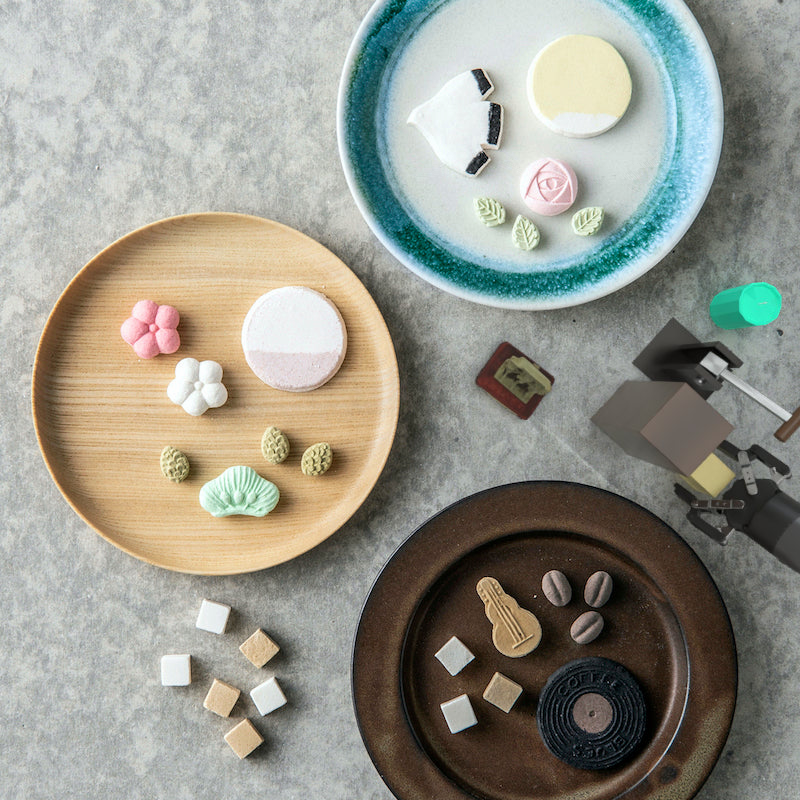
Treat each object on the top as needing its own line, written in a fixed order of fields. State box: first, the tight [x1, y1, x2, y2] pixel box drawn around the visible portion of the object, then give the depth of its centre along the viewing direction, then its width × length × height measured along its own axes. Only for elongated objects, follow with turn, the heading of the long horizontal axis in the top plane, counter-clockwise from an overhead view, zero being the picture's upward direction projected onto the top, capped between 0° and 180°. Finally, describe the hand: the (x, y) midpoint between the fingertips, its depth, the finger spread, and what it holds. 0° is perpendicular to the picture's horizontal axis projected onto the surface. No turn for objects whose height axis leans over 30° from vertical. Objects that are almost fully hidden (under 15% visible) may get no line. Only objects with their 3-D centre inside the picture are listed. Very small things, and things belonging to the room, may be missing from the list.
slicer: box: [631, 317, 745, 402], centre depth 101 cm, size 12×9×14 cm
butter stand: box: [590, 379, 736, 477], centre depth 96 cm, size 8×8×24 cm
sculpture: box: [474, 341, 556, 421], centre depth 101 cm, size 10×8×15 cm
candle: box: [709, 281, 783, 331], centre depth 101 cm, size 6×6×12 cm
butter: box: [677, 452, 737, 499], centre depth 104 cm, size 5×4×8 cm
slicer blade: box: [700, 351, 800, 444], centre depth 93 cm, size 14×6×2 cm, turn 48°
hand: (695, 464), depth 104 cm, fingers open, 8 cm apart
